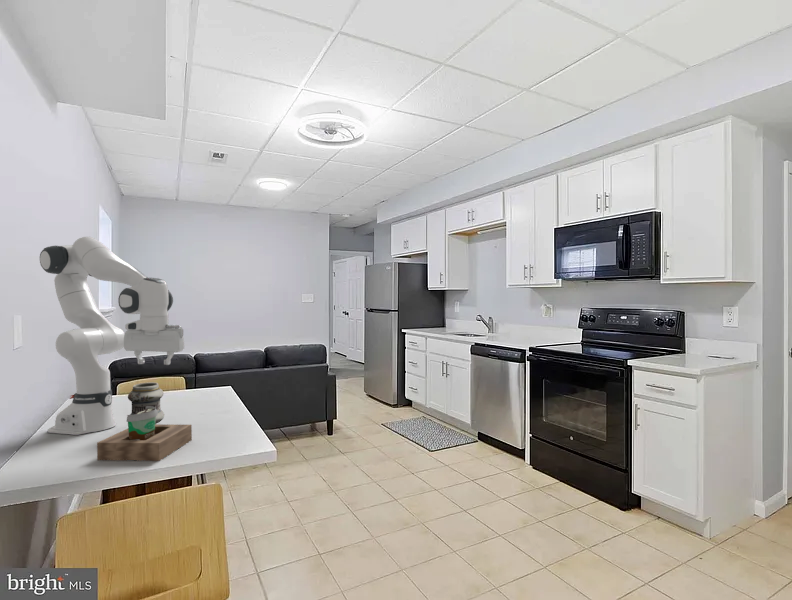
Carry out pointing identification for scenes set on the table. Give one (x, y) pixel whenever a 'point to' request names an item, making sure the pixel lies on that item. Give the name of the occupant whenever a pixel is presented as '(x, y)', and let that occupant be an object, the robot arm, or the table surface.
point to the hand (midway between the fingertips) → (154, 364)
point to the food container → (142, 424)
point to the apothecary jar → (146, 398)
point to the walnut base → (144, 444)
